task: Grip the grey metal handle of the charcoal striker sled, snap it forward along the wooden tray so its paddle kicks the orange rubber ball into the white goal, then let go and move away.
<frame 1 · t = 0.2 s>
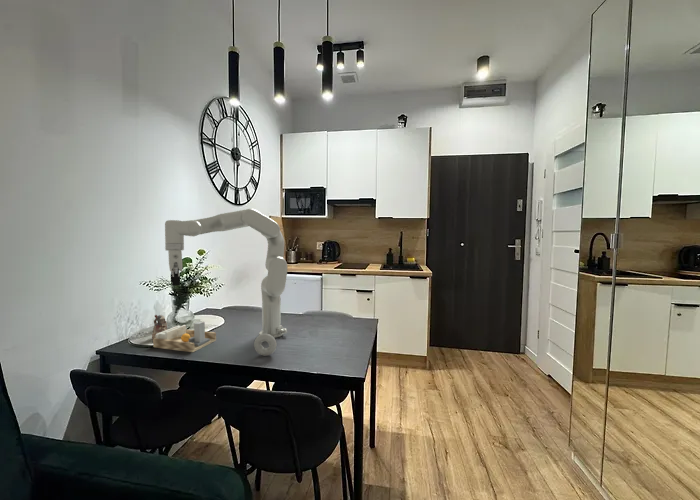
hand: (175, 283, 149), 30 cm above the table, tool pointing down, fingers open, 9 cm apart
striker: (199, 332, 154), point 6 cm above the table, slide at 0.0 cm
donut: (265, 356, 143), on the table
figurine: (160, 338, 163), on the table
wooden tray: (185, 343, 156), on the table
ball: (185, 337, 156), point 3 cm above the table, touching wooden tray
goal: (172, 342, 158), resting on wooden tray
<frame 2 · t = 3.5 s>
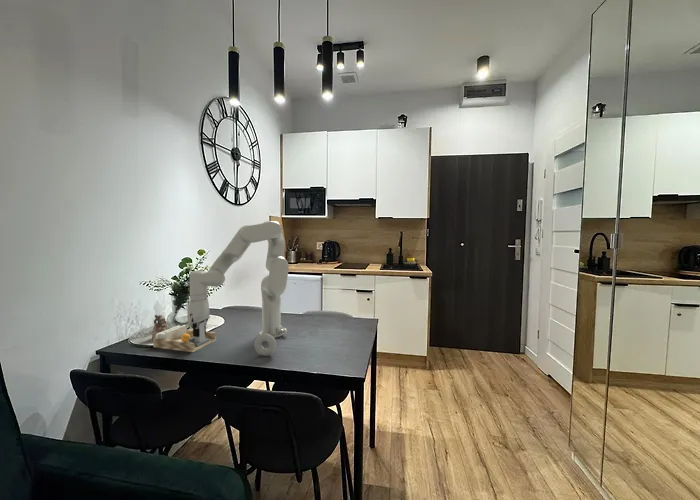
hand: (199, 334, 154), 5 cm above the table, tool pointing down, fingers closed on striker, 3 cm apart
striker: (199, 332, 154), point 6 cm above the table, slide at 0.0 cm, touching gripper
everything else where it was.
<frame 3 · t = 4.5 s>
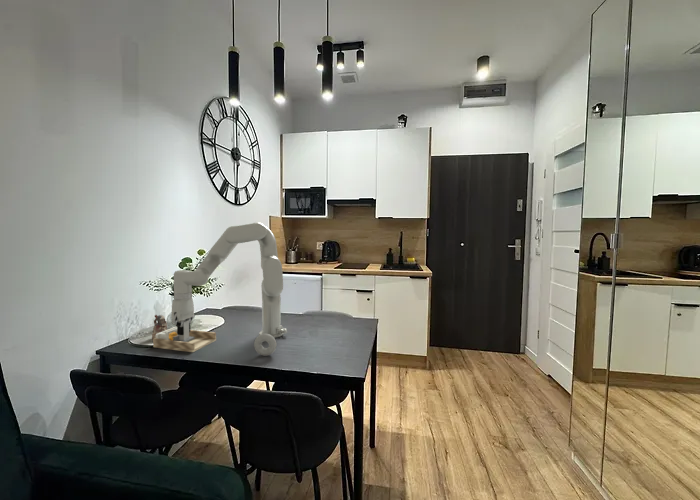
hand: (184, 332, 156), 5 cm above the table, tool pointing down, fingers closed on striker, 3 cm apart
striker: (183, 331, 156), point 6 cm above the table, slide at 8.9 cm, touching gripper
ball: (173, 336, 158), point 3 cm above the table, tilted 168°, touching wooden tray
everything else where it was.
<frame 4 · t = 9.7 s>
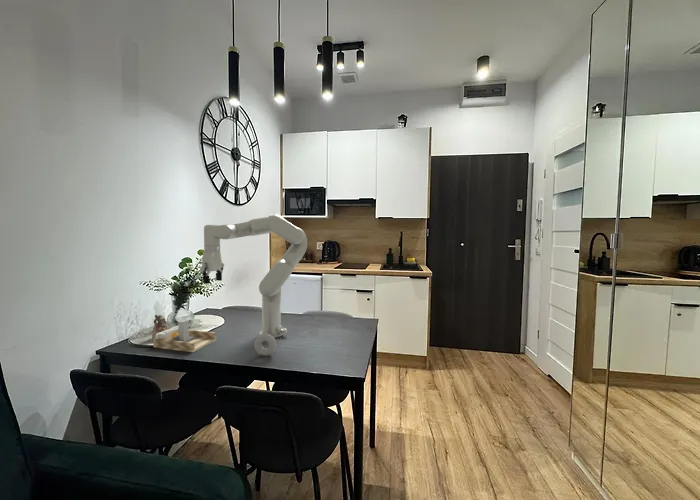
hand: (212, 281, 166), 28 cm above the table, tool pointing down, fingers open, 9 cm apart
striker: (183, 330, 156), point 6 cm above the table, slide at 9.0 cm
ball: (175, 336, 157), point 3 cm above the table, tilted 152°, touching wooden tray
everything else where it was.
at the end: ball inside the target area (1.2 cm from its centre), point 3.0 cm above the table; striker slide at 9.0 cm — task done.
